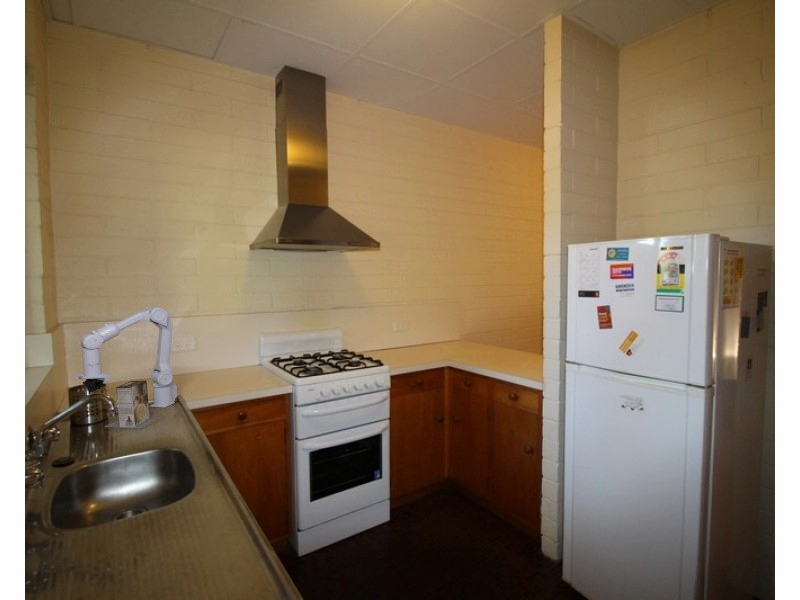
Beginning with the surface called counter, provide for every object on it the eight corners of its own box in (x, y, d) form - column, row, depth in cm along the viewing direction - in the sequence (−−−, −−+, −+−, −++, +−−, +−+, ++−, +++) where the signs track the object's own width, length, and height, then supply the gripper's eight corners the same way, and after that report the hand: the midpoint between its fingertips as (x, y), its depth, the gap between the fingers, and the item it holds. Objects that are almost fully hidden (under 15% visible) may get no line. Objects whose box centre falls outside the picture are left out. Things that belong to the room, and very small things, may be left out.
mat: (123, 418, 169) (123, 417, 169) (158, 420, 166) (158, 419, 166) (104, 427, 160) (104, 426, 160) (140, 429, 157) (140, 428, 157)
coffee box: (134, 418, 167) (131, 380, 166) (150, 418, 167) (147, 380, 166) (118, 427, 158) (115, 386, 157) (135, 427, 158) (132, 386, 157)
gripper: (67, 366, 161) (70, 399, 163) (98, 366, 159) (101, 401, 160) (83, 361, 168) (86, 394, 170) (114, 362, 166) (117, 395, 167)
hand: (94, 397), depth 165 cm, fingers closed
